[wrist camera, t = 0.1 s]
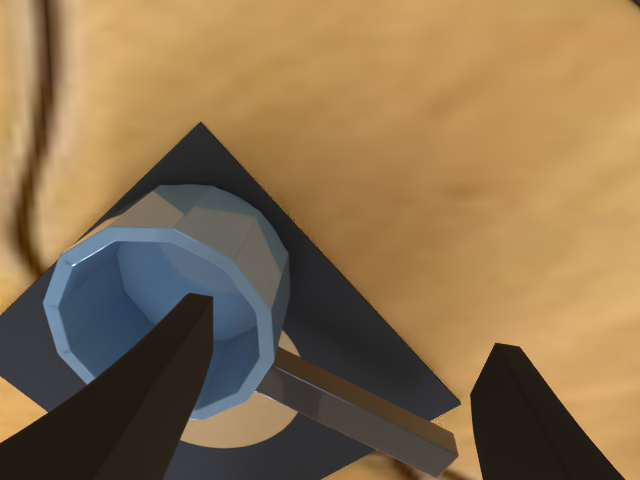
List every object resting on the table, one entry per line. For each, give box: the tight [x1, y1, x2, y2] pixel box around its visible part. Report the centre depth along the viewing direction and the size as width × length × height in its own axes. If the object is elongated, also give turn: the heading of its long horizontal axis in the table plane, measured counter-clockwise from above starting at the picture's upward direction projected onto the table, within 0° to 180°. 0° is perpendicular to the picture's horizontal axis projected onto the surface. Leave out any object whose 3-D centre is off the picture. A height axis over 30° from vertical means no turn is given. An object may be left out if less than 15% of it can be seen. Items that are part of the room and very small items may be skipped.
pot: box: [43, 184, 459, 478], centre depth 22 cm, size 18×9×6 cm, turn 61°
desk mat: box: [0, 122, 461, 480], centre depth 26 cm, size 20×20×1 cm
